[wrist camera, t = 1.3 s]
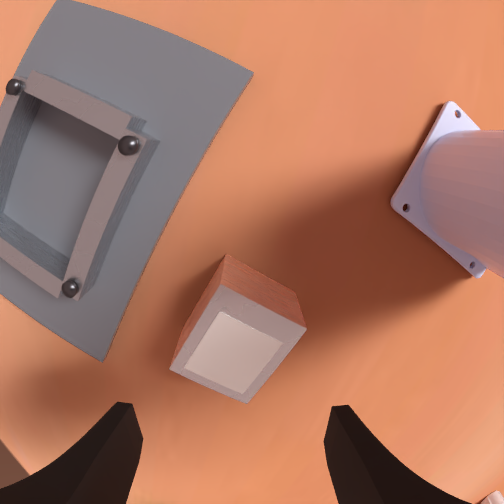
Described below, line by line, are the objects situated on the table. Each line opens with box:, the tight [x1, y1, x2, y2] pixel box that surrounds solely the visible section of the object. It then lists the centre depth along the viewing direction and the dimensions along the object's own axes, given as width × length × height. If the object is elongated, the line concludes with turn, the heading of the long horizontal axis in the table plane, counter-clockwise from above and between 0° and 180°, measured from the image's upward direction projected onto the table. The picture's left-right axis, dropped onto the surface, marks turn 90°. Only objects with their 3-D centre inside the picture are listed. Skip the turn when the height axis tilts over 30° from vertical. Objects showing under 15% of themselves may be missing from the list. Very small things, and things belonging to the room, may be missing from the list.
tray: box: [0, 0, 254, 363], centre depth 15 cm, size 14×20×4 cm
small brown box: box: [169, 254, 307, 404], centre depth 17 cm, size 5×6×4 cm
